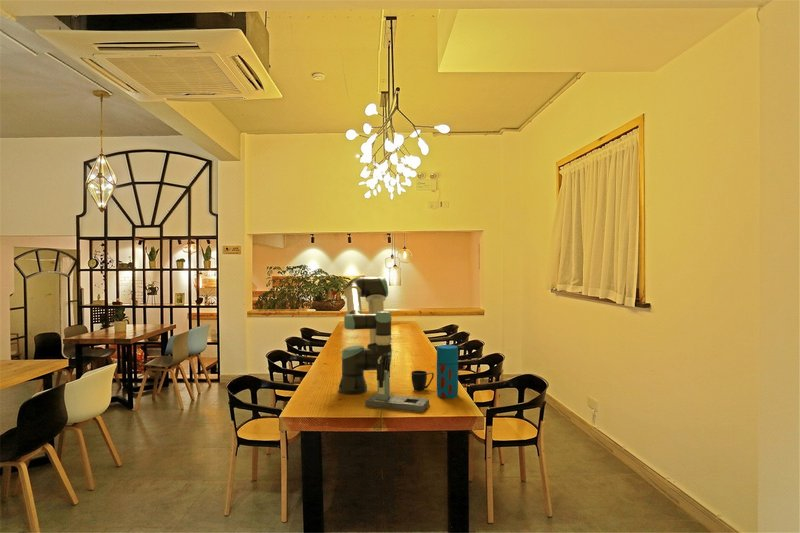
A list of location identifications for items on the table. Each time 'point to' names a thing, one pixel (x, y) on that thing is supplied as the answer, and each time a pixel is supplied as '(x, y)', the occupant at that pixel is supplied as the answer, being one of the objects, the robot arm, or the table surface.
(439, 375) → the thermos
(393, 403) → the panel
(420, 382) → the mug
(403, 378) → the table surface
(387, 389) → the plug
